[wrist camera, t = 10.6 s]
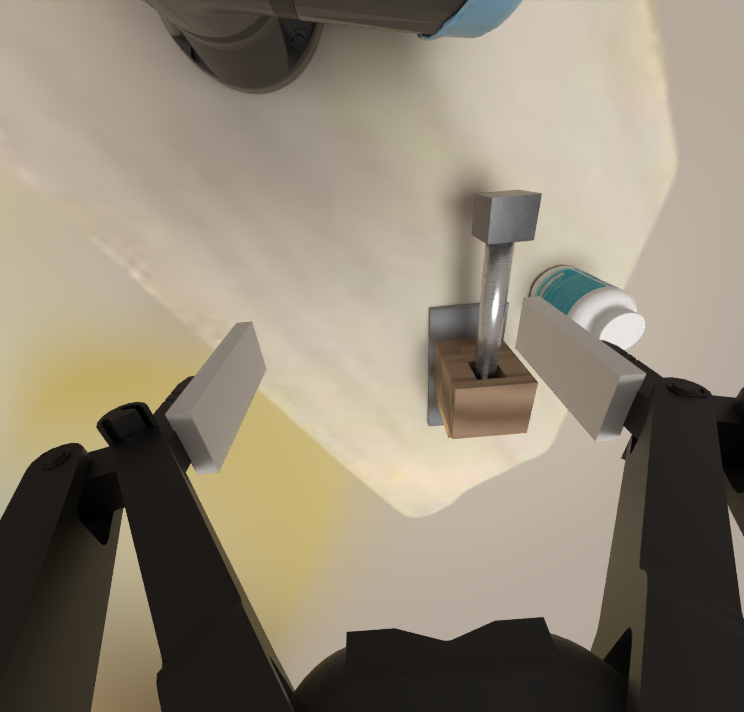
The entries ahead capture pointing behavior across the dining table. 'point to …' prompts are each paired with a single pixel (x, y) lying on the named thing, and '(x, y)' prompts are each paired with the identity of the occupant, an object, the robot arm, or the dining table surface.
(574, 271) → the pill bottle
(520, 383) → the bearing block
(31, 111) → the dining table surface
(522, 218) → the shaft
